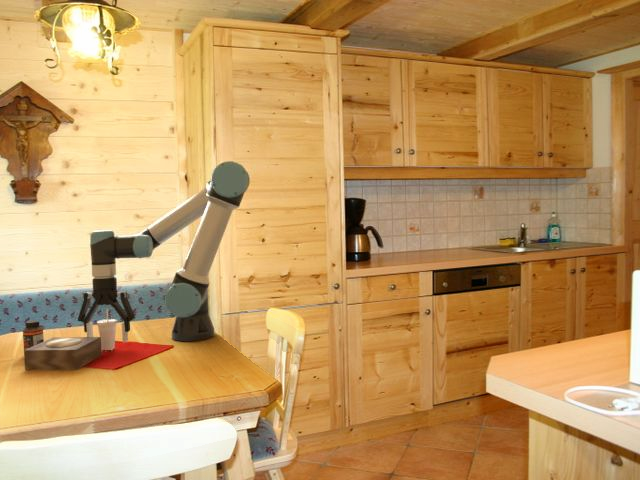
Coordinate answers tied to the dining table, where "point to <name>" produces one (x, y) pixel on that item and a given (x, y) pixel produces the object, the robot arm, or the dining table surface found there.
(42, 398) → the dining table surface
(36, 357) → the stand
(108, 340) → the white drink cup
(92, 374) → the dining table surface
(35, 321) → the supplement bottle
